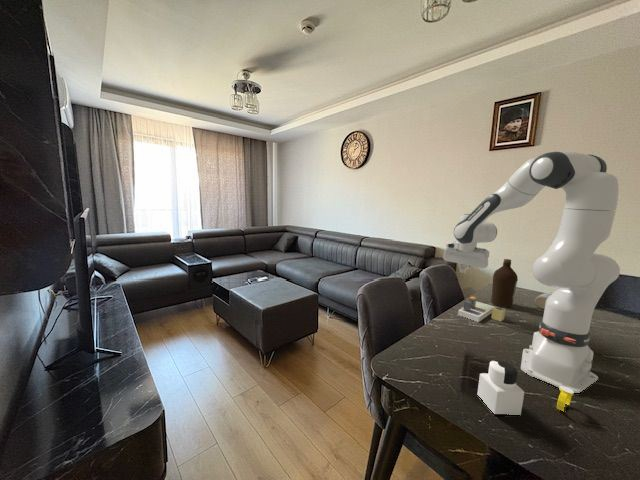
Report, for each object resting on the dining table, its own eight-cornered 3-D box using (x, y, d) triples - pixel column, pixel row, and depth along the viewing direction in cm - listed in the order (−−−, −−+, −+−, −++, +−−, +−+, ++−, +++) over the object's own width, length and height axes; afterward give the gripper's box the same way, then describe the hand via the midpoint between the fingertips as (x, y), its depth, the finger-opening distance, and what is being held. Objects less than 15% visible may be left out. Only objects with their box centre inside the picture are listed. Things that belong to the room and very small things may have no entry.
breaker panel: (478, 322, 116) (478, 316, 116) (457, 315, 123) (458, 309, 123) (494, 311, 128) (494, 306, 128) (474, 305, 135) (475, 300, 135)
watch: (559, 402, 70) (563, 382, 70) (572, 409, 68) (577, 388, 67) (551, 409, 67) (556, 389, 66) (565, 417, 65) (570, 396, 64)
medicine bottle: (500, 395, 72) (506, 356, 70) (521, 416, 65) (528, 374, 63) (476, 395, 72) (481, 356, 70) (494, 416, 65) (500, 374, 63)
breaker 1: (467, 310, 121) (468, 302, 120) (463, 309, 123) (464, 301, 122) (470, 309, 123) (471, 301, 122) (466, 307, 125) (467, 300, 124)
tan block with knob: (501, 321, 118) (502, 310, 117) (491, 318, 121) (492, 307, 120) (504, 319, 120) (505, 308, 119) (494, 316, 123) (495, 305, 122)
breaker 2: (472, 308, 124) (473, 298, 124) (468, 306, 126) (469, 297, 125) (475, 306, 126) (476, 297, 126) (471, 305, 128) (472, 296, 127)
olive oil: (492, 306, 135) (498, 260, 131) (487, 299, 145) (493, 256, 141) (516, 309, 131) (523, 262, 127) (510, 302, 140) (516, 258, 137)
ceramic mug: (532, 306, 135) (534, 293, 134) (539, 304, 139) (542, 290, 138) (557, 315, 126) (560, 300, 125) (565, 312, 130) (568, 298, 128)
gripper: (492, 248, 120) (488, 276, 123) (448, 242, 136) (446, 267, 138) (487, 250, 117) (483, 278, 119) (443, 243, 132) (440, 269, 135)
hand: (463, 272), depth 129 cm, fingers closed
